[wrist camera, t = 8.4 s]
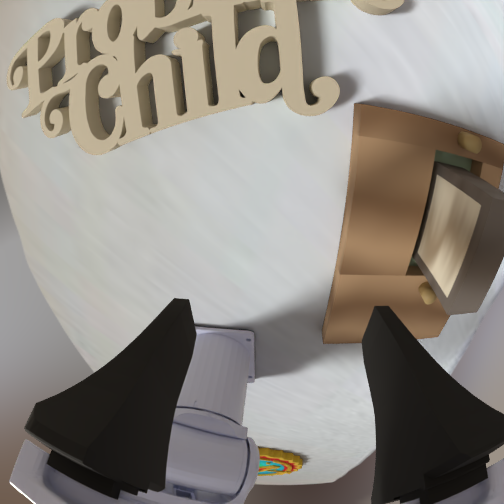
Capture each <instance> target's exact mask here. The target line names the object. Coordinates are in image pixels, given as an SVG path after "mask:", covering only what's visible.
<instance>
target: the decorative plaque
mask: <svg viewBox="0 0 504 504" xmlns="http://www.w3.org/2000/svg"><path fill="white" fill-rule="evenodd" d="M258 450H259V455H260V463H259V471H258V475H257V476H266V475H269V476H273V475H283V474H285V473H288V474H290V473H292V472H293V471H298V469H301V468H302V462H303V459H300V456H295V455H293V453H285V452H283V451H282V450H271V449H269V448H258Z"/></svg>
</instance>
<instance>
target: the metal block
mask: <svg viewBox="0 0 504 504" xmlns="http://www.w3.org/2000/svg"><path fill="white" fill-rule="evenodd" d="M412 257H413V259H414V260H415V262H416V263H417V265H418V266H419V268H420V269H421V271H422V272H423V274H424V276H425V277H426V279H427V281H428V282H429V284H430V286H431V287H432V289H433V291H434V292H435V294H436V296H437V297H438V299H439V301H440V303H441V304H442V306H443V308H444V310H445V312H446V314H447V315H454V314H464V313H474V312H477V311H478V309H479V308H480V306H481V304H482V302H483V300H484V298H485V296H486V294H487V292H488V290H489V288H490V286H491V284H492V282H493V280H494V278H495V276H496V273H497V271H498V269H499V267H500V264H501V262H502V260H503V257H504V193H503V192H502V191H500V190H499V189H497V188H496V187H494V186H493V185H491V184H490V183H488V182H486V181H485V180H483V179H482V178H480V177H478V176H477V175H475V174H473V173H471V172H470V171H468V170H466V169H464V168H462V167H458V166H454V165H450V164H445V163H441V162H436V161H434V164H433V170H432V176H431V181H430V187H429V192H428V196H427V201H426V205H425V210H424V214H423V218H422V222H421V226H420V229H419V233H418V237H417V240H416V244H415V247H414V250H413V254H412Z"/></svg>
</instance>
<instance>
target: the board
mask: <svg viewBox="0 0 504 504" xmlns="http://www.w3.org/2000/svg"><path fill="white" fill-rule="evenodd" d="M434 161H436V162H441V163H445V164H450V165H454V166H458V167H462V168H464V169H466V170H468V171H470V172H471V173H473V174H475V175H477V176H478V177H480V178H482V179H483V180H485V181H486V182H488V183H490V184H491V185H493V186H494V187H496V188H497V189H499V184H500V180H501V175H502V170H503V164H504V144H502V143H500V142H498V141H495V140H493V139H490V138H488V137H485V136H483V135H480V134H477V133H475V132H472V131H469V130H466V129H463V128H460V127H457V126H454V125H451V124H448V123H445V122H441V121H438V120H434V119H431V118H427V117H423V116H419V115H415V114H411V113H407V112H402V111H397V110H393V109H388V108H382V107H377V106H371V105H365V104H357V103H354V117H353V134H352V147H351V159H350V169H349V179H348V187H347V196H346V204H345V211H344V218H343V225H342V231H341V238H340V244H339V250H338V256H337V261H336V267H335V272H334V277H333V282H332V287H331V292H330V297H329V302H328V306H327V311H326V315H325V319H324V324H323V328H322V338H323V344H340V343H362V338H363V335H364V333H365V330H366V328H367V325H368V322H369V320H370V317H371V314H372V312H373V309H374V306H389V307H390V308H391V309H392V311H393V312H394V313H395V314H396V315H397V316H398V318H399V319H400V320H401V321H402V323H403V324H404V325H405V326H406V327H407V329H408V330H409V331H410V332H411V333H412V335H413V336H414V337H415V338H416V339H424V338H433V337H438V336H439V334H440V332H441V331H442V329H443V327H444V326H445V324H446V322H447V320H448V318H449V317H450V315H447V314H446V312H445V310H444V308H443V306H442V304H441V303H440V301H439V299H438V297H437V296H436V294H435V292H434V291H433V289H432V287H431V286H430V284H429V282H428V281H427V279H426V277H425V276H424V274H423V272H422V271H421V269H420V268H419V266H418V265H417V263H416V262H415V260H414V259H413V257H412V254H413V250H414V247H415V244H416V240H417V237H418V233H419V229H420V226H421V222H422V218H423V214H424V210H425V205H426V201H427V196H428V192H429V187H430V181H431V176H432V170H433V164H434Z"/></svg>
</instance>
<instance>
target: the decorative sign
mask: <svg viewBox="0 0 504 504" xmlns="http://www.w3.org/2000/svg"><path fill="white" fill-rule="evenodd" d="M296 1H307V0H177V2H176V5H175V7H174V9H173V10H172V11H171V12H170V13H169V14H168V15H167V16H165V9H164V0H107V1H106V2H105V3H104V4H103V5H102V6H101V8H100V9H95V8H90V9H88V10H86V11H85V12H84V13H82V15H81V16H80V17H79V18H75V19H74V20H68V19H62V18H56V19H53V20H51V21H49V22H48V23H47V24H45V25H44V26H43V27H42V28H41V29H40V30H39V31H38V32H37V33H35V34H34V35H33V36H32V37H31V38H30V39H29V40H28V41H27V42H26V43H25V44H24V45H23V46H22V47H21V49H20V50H19V51H18V52H17V53H16V55H15V56H14V58H13V59H12V61H11V63H10V66H9V69H8V73H7V85H8V88H9V89H10V90H16V89H21V88H26V87H28V88H29V99H30V102H29V105H28V107H27V108H26V109H25V110H24V112H23V113H22V118H25V117H29V116H32V115H36V114H37V113H39V112H40V111H41V115H40V121H41V127H42V130H43V132H44V134H45V135H46V136H47V137H48V138H54V137H57V136H60V135H63V134H66V133H68V132H69V131H70V130H72V134H73V136H74V138H75V140H76V142H77V144H78V145H79V146H80V147H81V148H82V149H83V150H84V151H85V152H87V153H89V154H92V155H102V154H105V153H107V152H109V151H112V150H114V149H116V148H118V147H120V146H122V145H124V144H126V143H128V142H131V141H133V140H136V139H138V138H141V137H144V136H146V135H149V134H152V133H154V132H157V131H160V130H163V129H166V128H168V127H171V126H174V125H177V124H181V123H184V122H187V121H190V120H193V119H197V118H200V117H204V116H207V115H211V114H214V113H218V112H222V111H226V110H230V109H234V108H238V107H242V106H247V105H252V104H254V102H255V103H266V102H269V101H270V100H272V99H273V98H274V97H275V96H276V95H277V94H278V93H279V91H280V90H281V89H282V95H283V99H284V101H285V103H286V105H287V106H288V107H289V108H290V109H291V110H292V111H294V112H295V113H297V114H300V115H304V116H316V115H320V114H322V113H324V112H326V111H327V110H329V109H330V108H331V107H332V106H333V105H334V104H335V102H336V101H337V99H338V97H339V94H340V88H339V85H338V83H337V82H336V81H335V80H334V79H333V78H331V77H327V76H325V77H320V78H317V79H315V80H313V81H312V82H311V83H310V85H309V90H310V93H311V94H312V95H313V96H315V97H317V101H316V102H315V103H314V104H311V105H308V104H307V103H306V100H305V94H304V87H303V68H302V52H301V40H300V29H299V20H298V11H297V3H296ZM309 1H320V0H309ZM351 2H352V3H353V4H354V5H355V6H356V7H357V8H358V9H360V10H361V11H363V12H366V13H368V14H372V15H386V14H388V13H390V12H392V11H393V10H395V9H397V8H398V7H400V6H401V5H402V4H403V2H404V0H351ZM258 8H262V9H263V10H265V11H266V10H273V11H274V15H275V23H276V28H274V27H272V26H268V25H263V26H258V27H255V28H253V29H251V30H250V31H248V32H247V33H246V34H245V35H244V36H243V37H242V38H241V40H240V41H239V37H238V13H239V12H244V11H246V10H254V9H258ZM121 17H122V25H121V30H119V29H120V21H121ZM205 21H208V22H210V23H212V37H213V49H214V60H215V70H216V79H217V87H218V96H219V102H218V104H217V105H215V104H214V96H213V87H212V77H211V67H210V57H209V48H210V46H209V44H207V43H206V42H205V38H204V36H203V35H202V34H200V33H199V32H198V31H196V30H195V29H193V28H190V26H193V25H196V24H199V23H202V22H205ZM176 31H178V32H177V33H176V34H175V36H174V40H173V41H174V44H175V46H176V47H177V48H180V49H177V50H173V51H172V54H173V55H176V56H179V57H182V64H183V75H184V84H185V94H186V103H187V112H186V113H185V105H184V96H183V88H182V78H181V69H180V64H179V62H178V61H177V60H176V59H175V58H172V57H169V56H165V55H161V54H159V55H155V56H152V57H150V58H149V59H147V60H146V58H145V42H149V43H152V44H153V43H155V42H156V41H157V40H158V39H159V38H160V37H161V36H162V35H163V34H164V32H176ZM91 32H92V41H93V44H94V46H95V48H96V49H97V50H98V51H99V52H101V53H104V54H103V55H99V56H97V57H95V58H94V59H92V60H91V58H90V40H89V38H90V33H91ZM269 42H276V43H277V44H278V49H279V60H280V73H279V75H278V77H277V78H276V79H275V80H274V81H273V82H271V83H263V82H262V80H261V77H260V68H259V62H260V54H261V50H262V48H263V46H264V45H265V44H267V43H269ZM64 56H65V64H66V72H65V75H64V77H63V78H62V79H61V80H60V81H59V82H58V86H54V87H53V80H52V67H54V66H55V65H56V64H57V63H59V62H60V61H61V59H62V58H63V57H64ZM26 62H27V66H25V64H26ZM106 68H108V74H107V75H106V76H104V77H103V78H102V79H101V81H100V78H101V75H102V73H103V72H104V70H105V69H106ZM152 79H153V83H154V92H155V101H156V109H157V117H158V124H153V121H152V114H151V106H150V98H149V90H148V85H149V83H150V81H151V80H152ZM68 93H70V94H69V106H68V107H63V108H59V106H60V103H61V101H62V99H63V98H64V97H65V96H66V95H67V94H68ZM99 95H100V97H102V98H114V97H121V101H122V105H121V106H118V107H116V109H115V115H116V121H115V127H114V130H113V132H112V134H111V135H110V134H108V133H107V132H106V131H105V129H104V128H103V125H102V122H101V118H100V113H99ZM243 95H244V96H245V97H244V96H243Z"/></svg>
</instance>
